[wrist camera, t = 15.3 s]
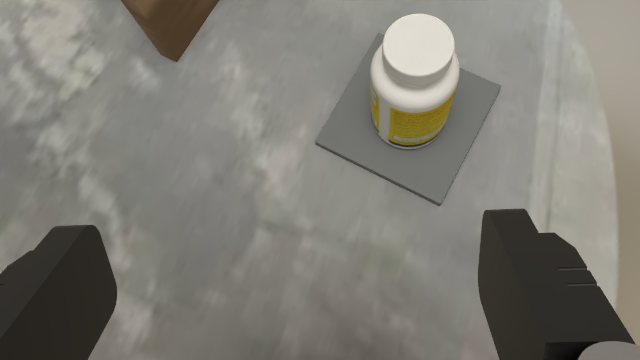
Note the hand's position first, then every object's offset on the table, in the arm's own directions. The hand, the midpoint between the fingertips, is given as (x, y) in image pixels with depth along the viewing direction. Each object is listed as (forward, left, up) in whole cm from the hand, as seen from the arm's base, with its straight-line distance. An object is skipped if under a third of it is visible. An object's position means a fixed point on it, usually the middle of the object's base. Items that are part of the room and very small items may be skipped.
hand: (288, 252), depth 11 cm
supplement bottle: (-3, +14, -26) cm, 30 cm away
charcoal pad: (-3, +15, -26) cm, 30 cm away
